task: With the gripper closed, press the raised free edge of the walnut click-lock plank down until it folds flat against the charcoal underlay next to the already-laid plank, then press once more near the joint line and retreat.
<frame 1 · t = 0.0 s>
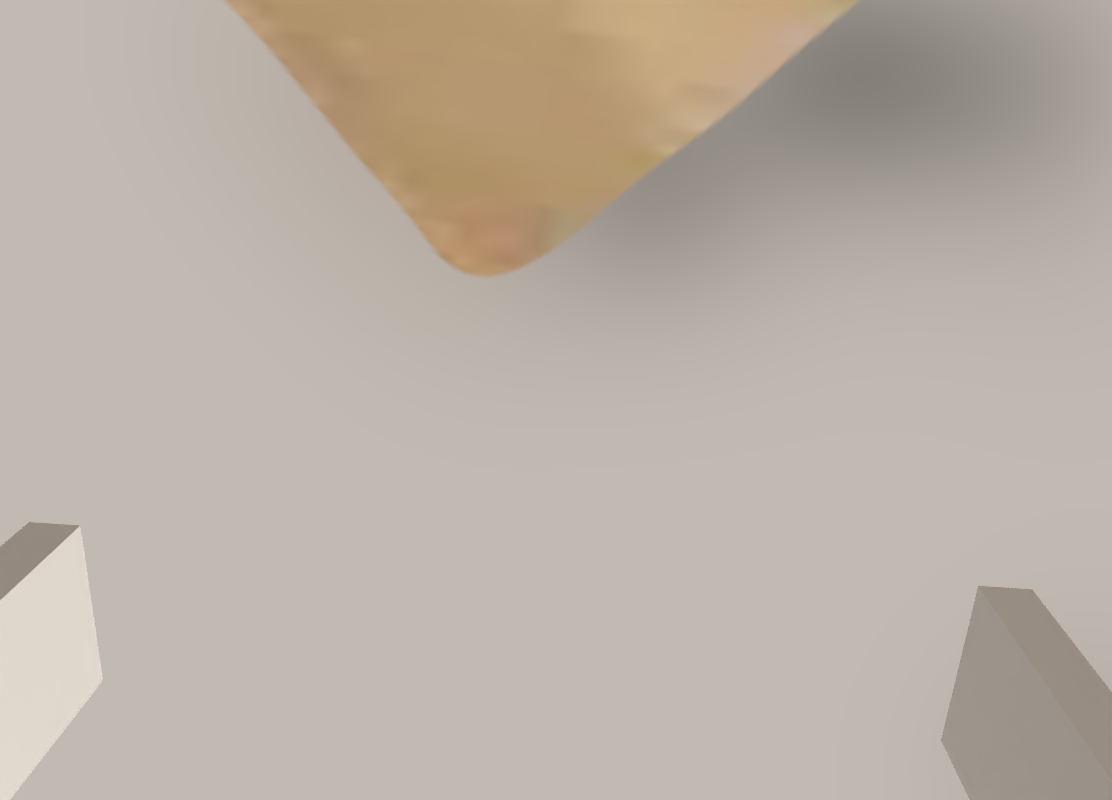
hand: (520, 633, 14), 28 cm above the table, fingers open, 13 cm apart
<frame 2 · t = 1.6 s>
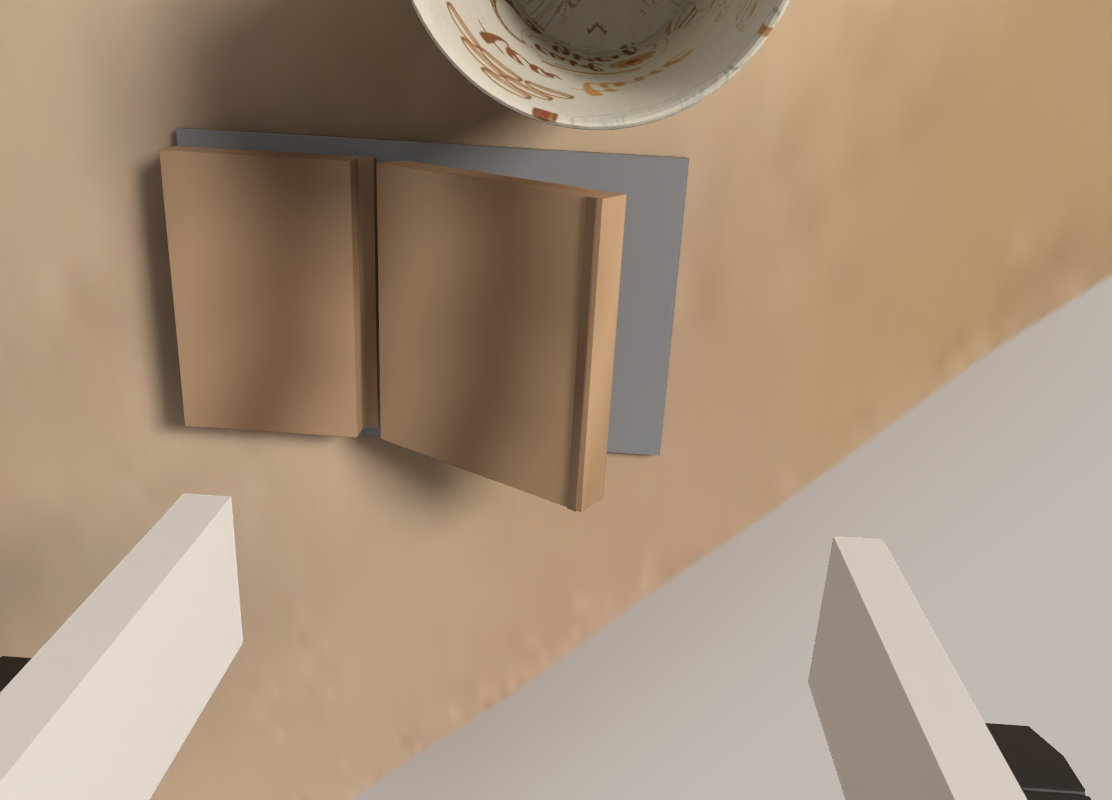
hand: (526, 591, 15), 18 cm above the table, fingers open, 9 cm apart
laid plank: (280, 287, 32), resting on underlay
plank: (489, 330, 29), point 3 cm above the table, hinge at 32.0°
underlay: (431, 297, 32), on the table
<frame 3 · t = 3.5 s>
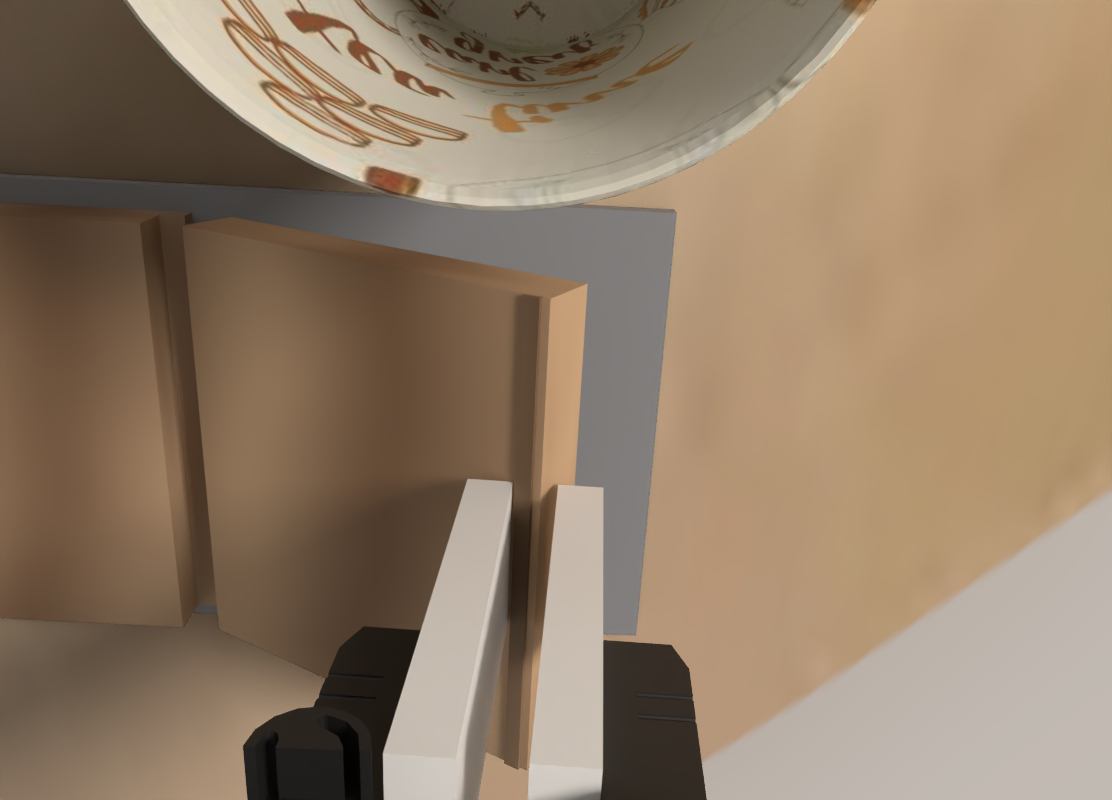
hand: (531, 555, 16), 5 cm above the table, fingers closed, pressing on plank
laid plank: (63, 404, 21), resting on underlay
plank: (372, 484, 18), point 3 cm above the table, hinge at 28.6°, touching gripper
underlay: (293, 416, 21), on the table
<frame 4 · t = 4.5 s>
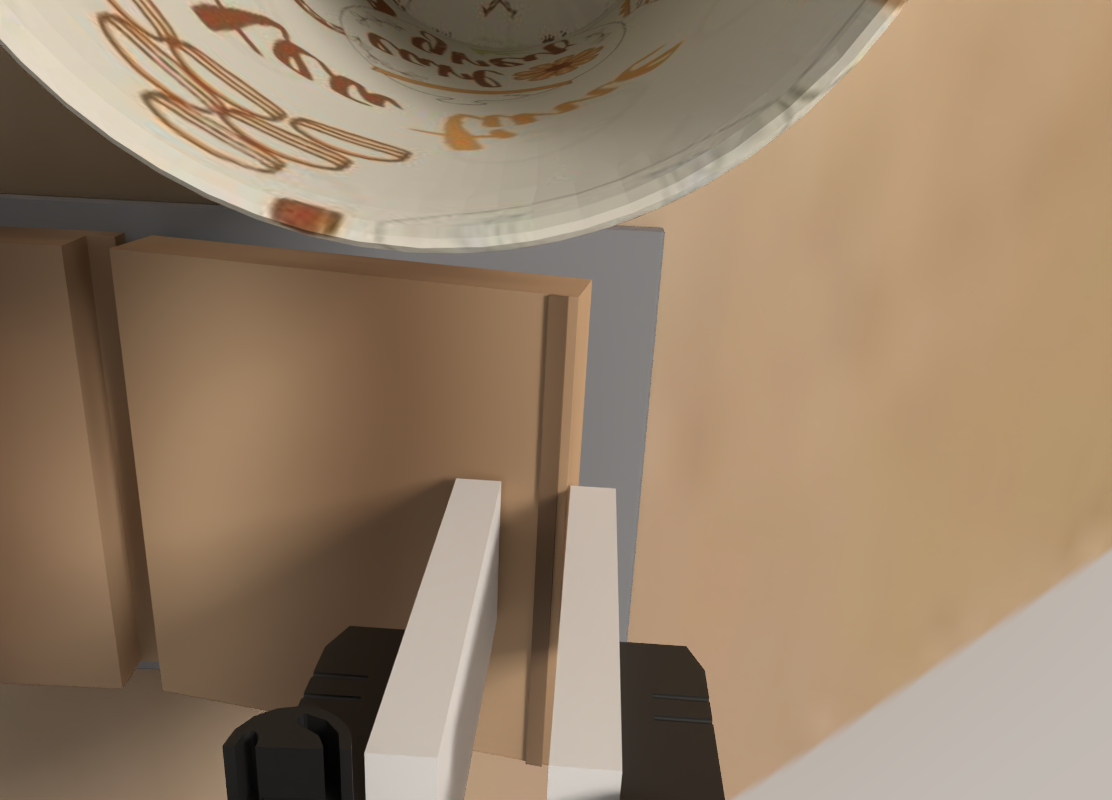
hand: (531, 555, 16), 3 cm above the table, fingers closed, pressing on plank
plank: (354, 506, 17), point 2 cm above the table, hinge at 11.7°, touching gripper
underlay: (243, 455, 19), on the table
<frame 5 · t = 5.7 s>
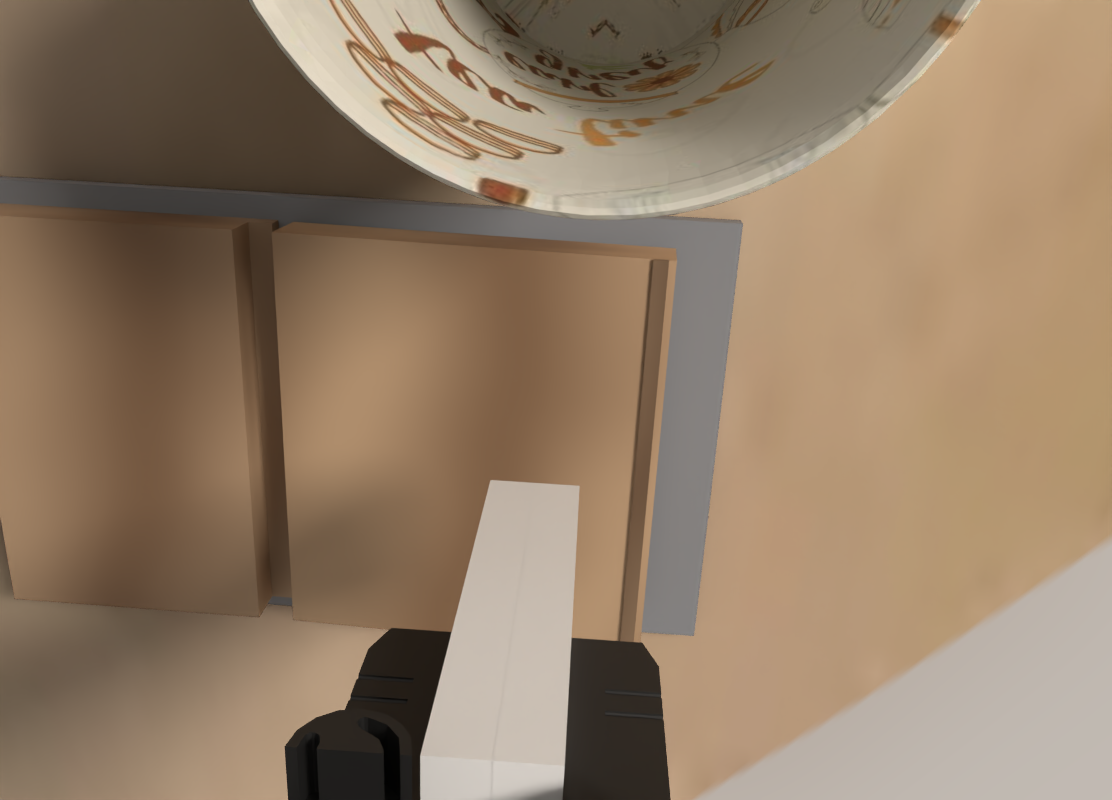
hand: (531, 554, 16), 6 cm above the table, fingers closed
laid plank: (150, 401, 22), resting on underlay
plank: (471, 446, 21), point 1 cm above the table, hinge at 2.6°
underlay: (367, 416, 22), on the table
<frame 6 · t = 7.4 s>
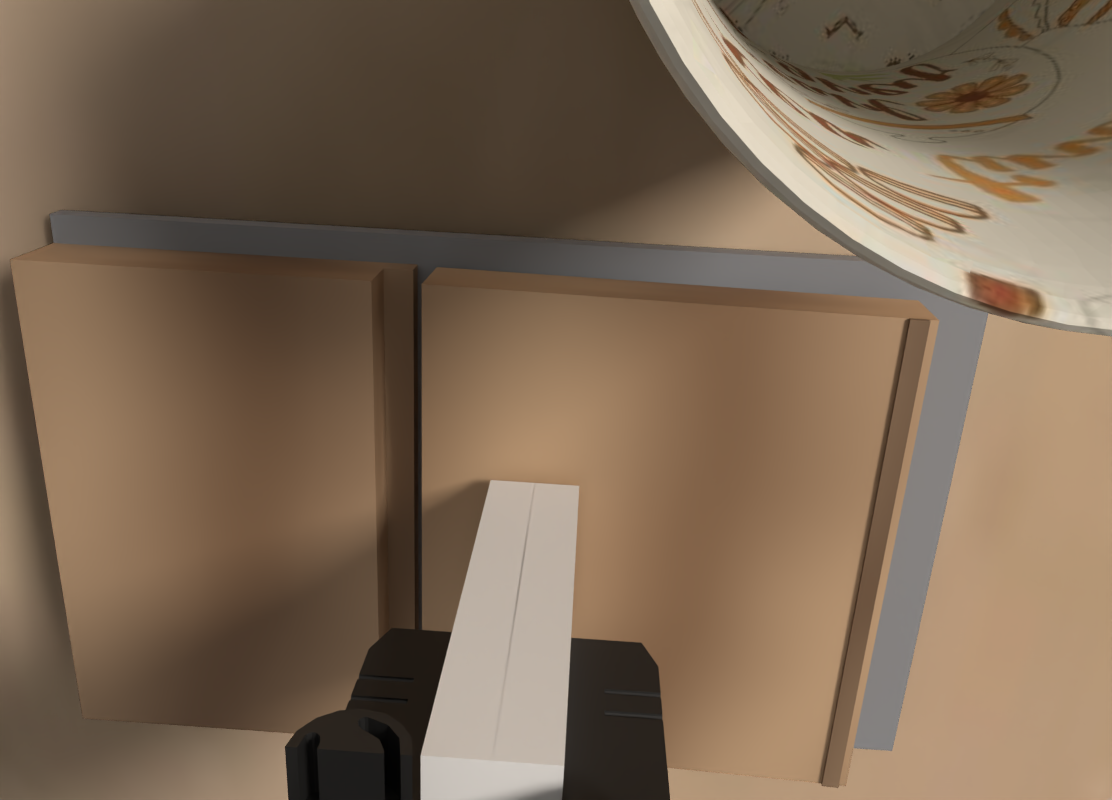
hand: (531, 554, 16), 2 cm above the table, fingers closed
laid plank: (246, 479, 18), resting on underlay
plank: (651, 539, 17), point 1 cm above the table, hinge at 2.5°, touching gripper
underlay: (510, 496, 18), on the table
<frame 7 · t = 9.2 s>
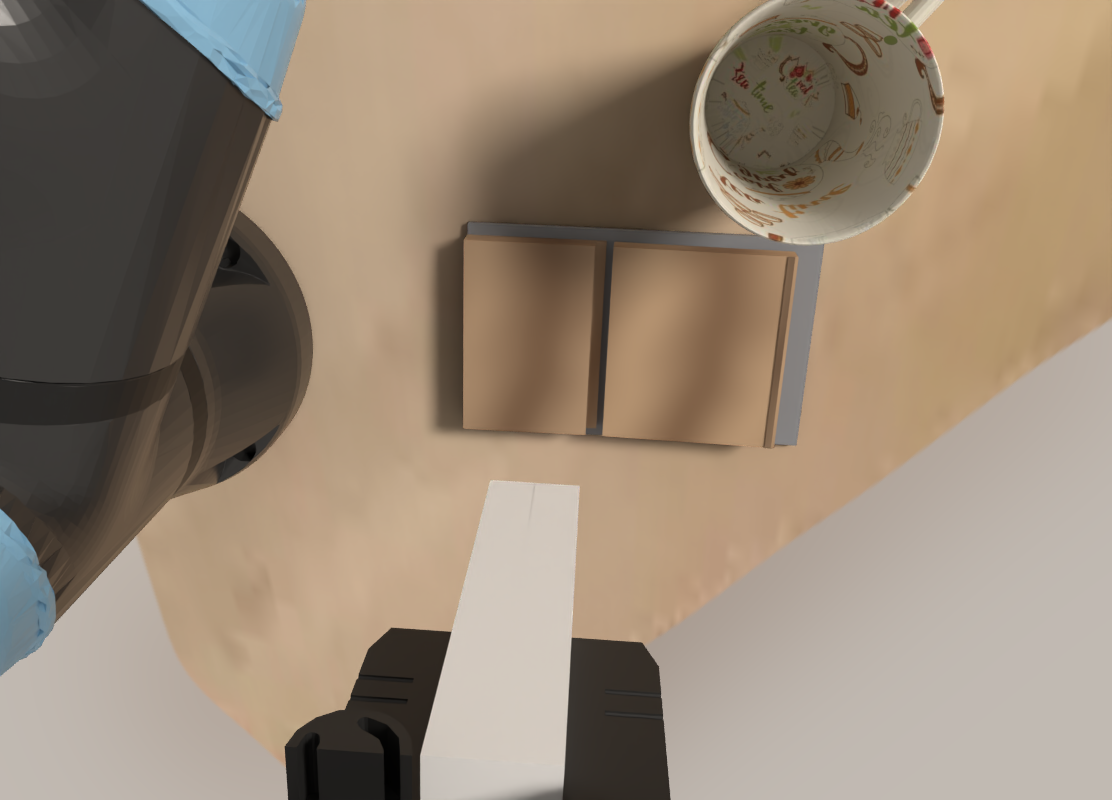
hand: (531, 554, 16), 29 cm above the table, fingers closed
laid plank: (529, 330, 45), resting on underlay
mug: (803, 63, 41), on the table
plank: (695, 346, 44), point 1 cm above the table, hinge at 2.5°
underlay: (637, 335, 45), on the table
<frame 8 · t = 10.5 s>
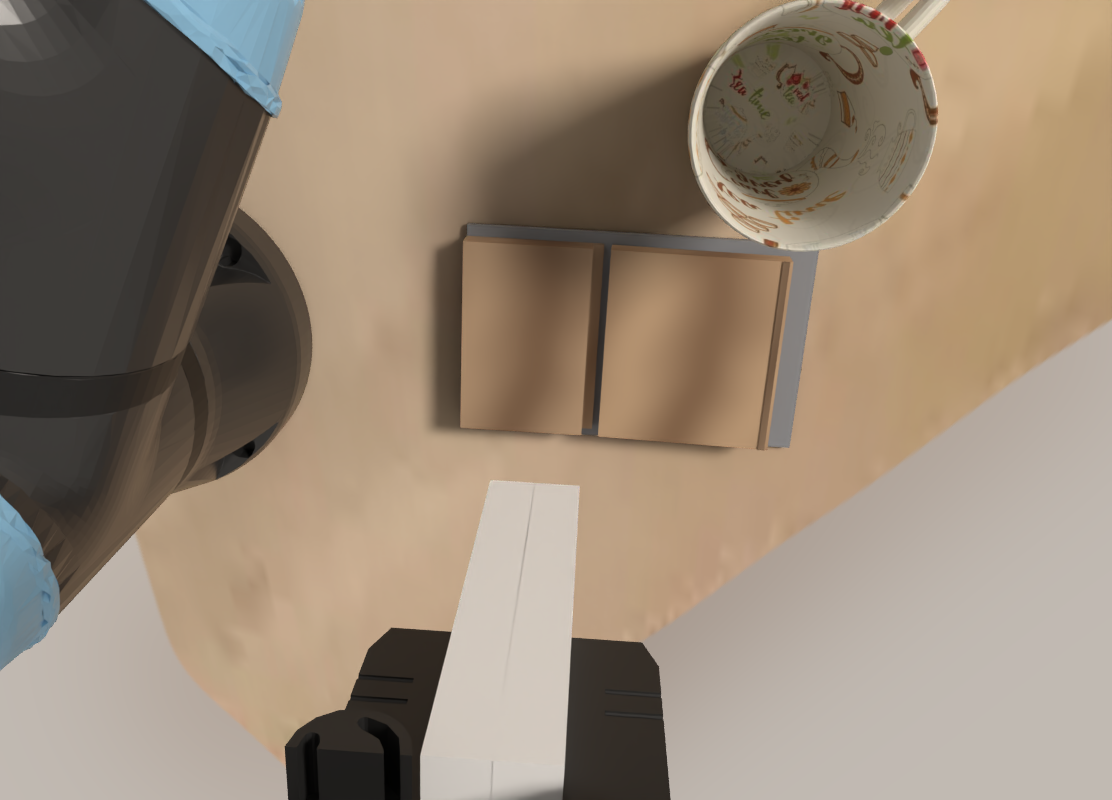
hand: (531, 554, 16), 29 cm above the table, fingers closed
laid plank: (526, 331, 46), resting on underlay
mug: (800, 71, 41), on the table
plank: (691, 349, 44), point 1 cm above the table, hinge at 2.5°
underlay: (633, 337, 45), on the table
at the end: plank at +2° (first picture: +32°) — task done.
